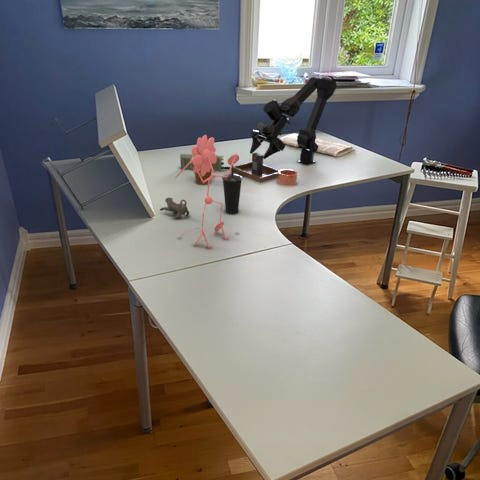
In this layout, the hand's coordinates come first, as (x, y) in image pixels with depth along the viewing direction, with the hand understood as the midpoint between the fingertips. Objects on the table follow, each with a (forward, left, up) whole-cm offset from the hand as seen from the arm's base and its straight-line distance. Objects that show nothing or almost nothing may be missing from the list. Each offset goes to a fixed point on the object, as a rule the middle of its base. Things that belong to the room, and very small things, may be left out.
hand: (256, 155), depth 222 cm
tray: (0, 0, -9) cm, 9 cm away
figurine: (+60, +36, -9) cm, 71 cm away
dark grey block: (-1, 0, -8) cm, 8 cm away
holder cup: (-3, +16, -9) cm, 19 cm away
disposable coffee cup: (+25, -8, -9) cm, 28 cm away
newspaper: (-58, -13, -9) cm, 60 cm away
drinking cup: (+37, +25, -9) cm, 46 cm away
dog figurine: (+56, +14, -9) cm, 58 cm away
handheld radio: (+13, -20, -9) cm, 26 cm away
